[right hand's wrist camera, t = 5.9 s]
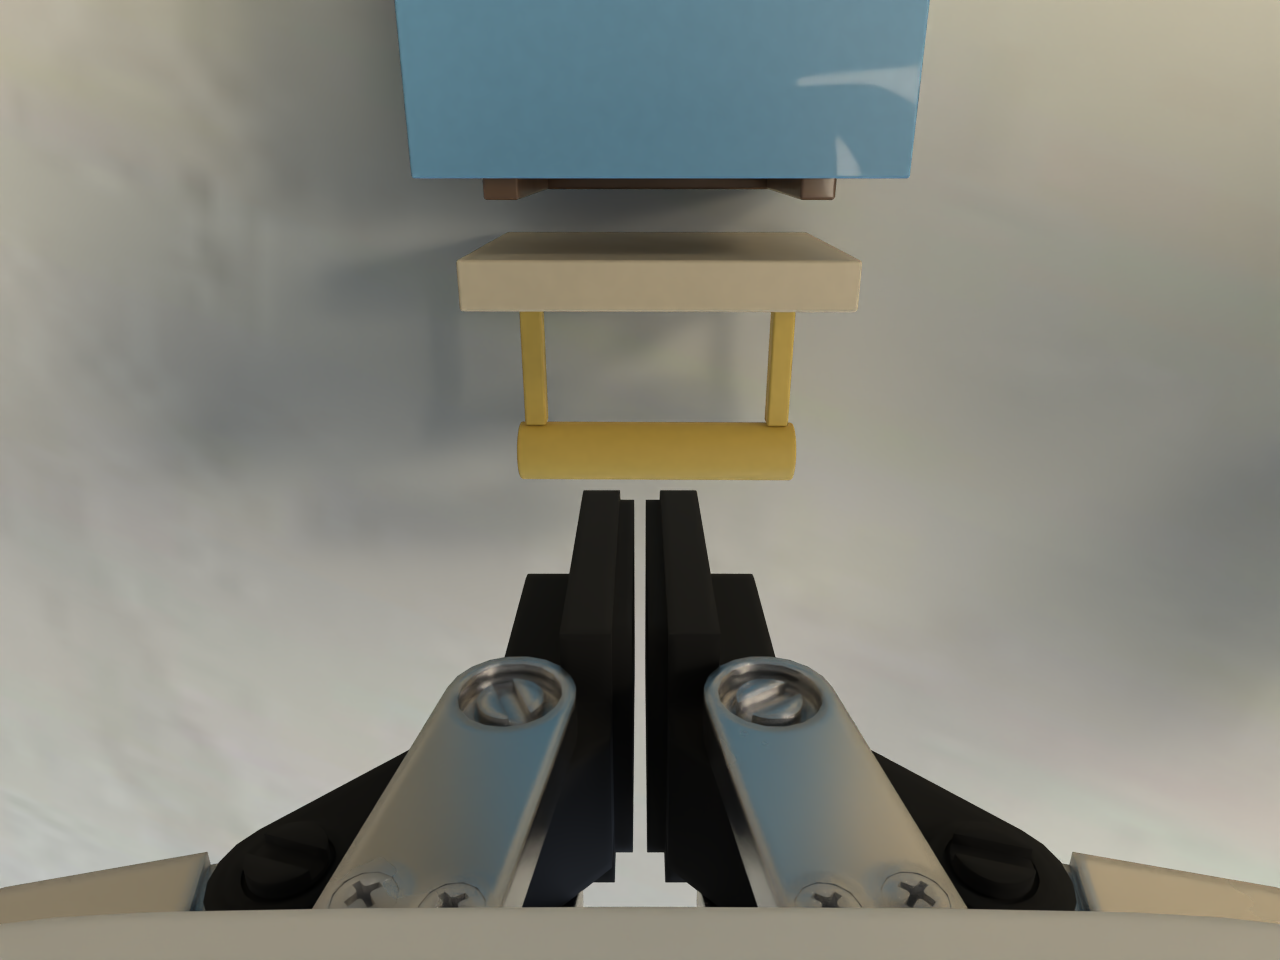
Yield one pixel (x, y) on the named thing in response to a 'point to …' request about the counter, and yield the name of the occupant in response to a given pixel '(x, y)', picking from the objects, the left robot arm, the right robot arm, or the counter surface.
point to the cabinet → (661, 87)
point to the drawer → (658, 282)
